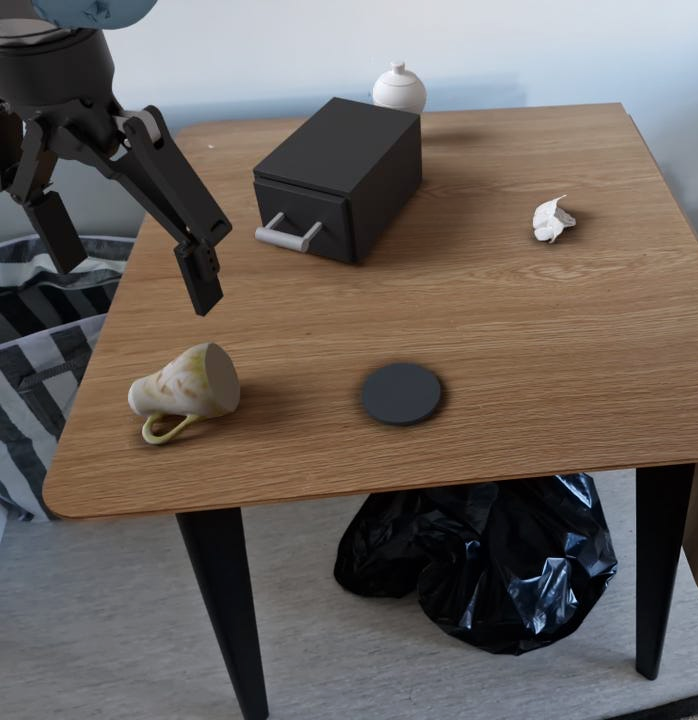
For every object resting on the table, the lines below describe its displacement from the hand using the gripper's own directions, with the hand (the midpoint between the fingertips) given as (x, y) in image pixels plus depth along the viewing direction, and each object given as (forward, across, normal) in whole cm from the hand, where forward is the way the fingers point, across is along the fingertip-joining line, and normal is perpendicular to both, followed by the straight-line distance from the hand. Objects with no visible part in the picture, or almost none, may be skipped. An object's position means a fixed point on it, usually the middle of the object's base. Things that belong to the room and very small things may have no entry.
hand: (140, 285), depth 60 cm
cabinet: (+16, +2, -36) cm, 40 cm away
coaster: (+16, -18, -9) cm, 26 cm away
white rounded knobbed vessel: (+16, +2, -55) cm, 58 cm away
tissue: (+16, -24, -43) cm, 52 cm away
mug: (+16, 0, 0) cm, 16 cm away
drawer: (+15, +1, -32) cm, 36 cm away
